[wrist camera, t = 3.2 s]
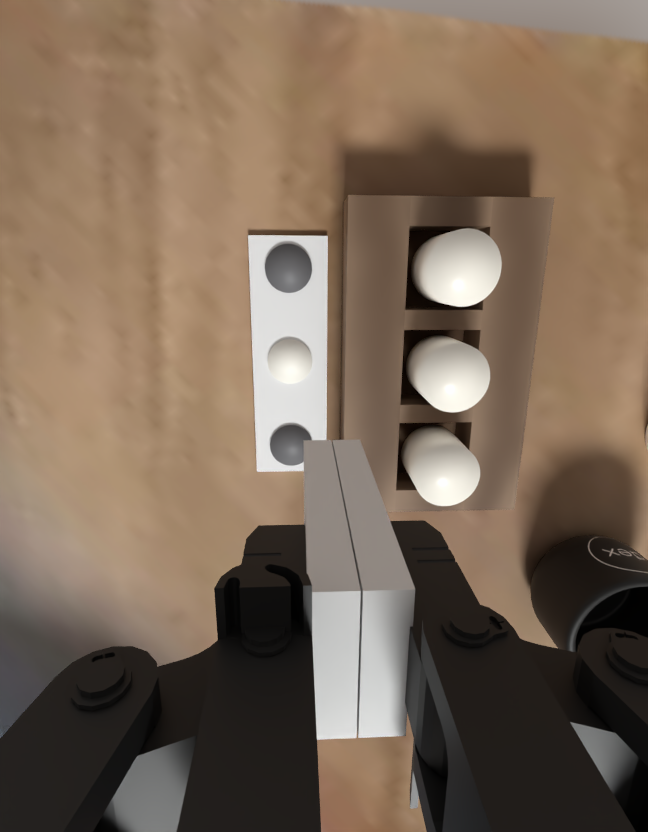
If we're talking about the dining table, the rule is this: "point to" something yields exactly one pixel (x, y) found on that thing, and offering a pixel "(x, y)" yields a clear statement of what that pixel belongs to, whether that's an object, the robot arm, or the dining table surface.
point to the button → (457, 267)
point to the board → (482, 323)
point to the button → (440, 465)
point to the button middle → (448, 373)
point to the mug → (590, 589)
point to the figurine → (646, 437)
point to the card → (288, 346)
